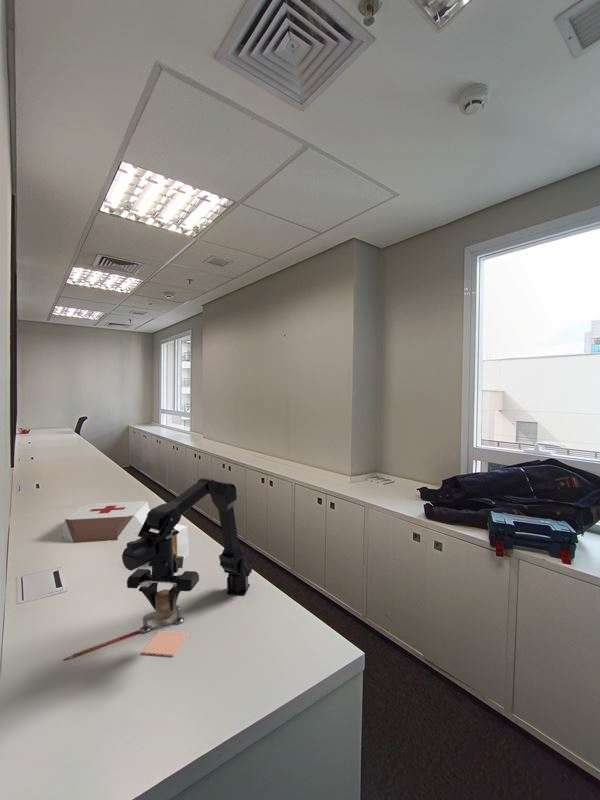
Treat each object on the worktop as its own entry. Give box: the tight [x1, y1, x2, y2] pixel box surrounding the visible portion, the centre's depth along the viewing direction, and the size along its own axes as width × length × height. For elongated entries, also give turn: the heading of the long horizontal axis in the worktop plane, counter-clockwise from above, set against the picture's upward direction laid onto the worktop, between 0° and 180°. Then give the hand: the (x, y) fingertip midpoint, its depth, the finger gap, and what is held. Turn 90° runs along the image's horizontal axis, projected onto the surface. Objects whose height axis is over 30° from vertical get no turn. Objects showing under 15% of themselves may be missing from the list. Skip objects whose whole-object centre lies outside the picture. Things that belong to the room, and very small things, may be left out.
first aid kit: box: [61, 500, 151, 544], centre depth 194 cm, size 34×41×10 cm
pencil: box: [63, 630, 140, 661], centre depth 105 cm, size 19×1×1 cm, turn 125°
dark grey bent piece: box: [139, 604, 185, 634], centre depth 116 cm, size 11×13×4 cm
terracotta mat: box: [141, 630, 189, 657], centre depth 105 cm, size 9×9×1 cm
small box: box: [173, 523, 190, 560], centre depth 158 cm, size 8×6×13 cm
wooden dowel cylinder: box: [155, 588, 174, 621], centre depth 105 cm, size 5×5×6 cm
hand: (164, 609), depth 105 cm, fingers closed on wooden dowel cylinder, 5 cm apart
